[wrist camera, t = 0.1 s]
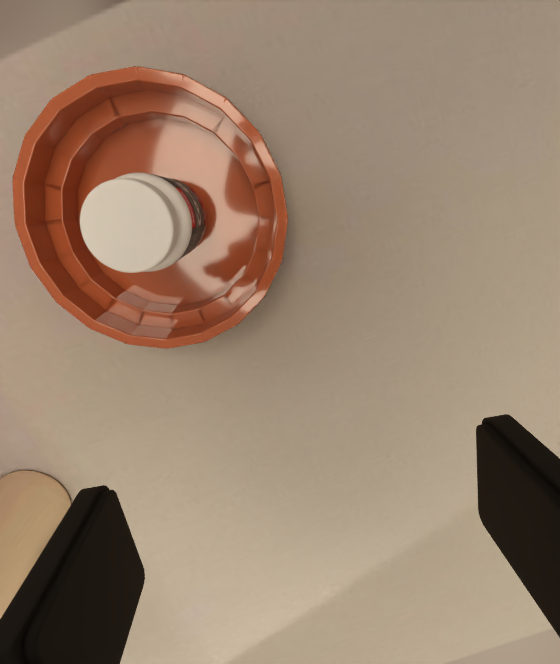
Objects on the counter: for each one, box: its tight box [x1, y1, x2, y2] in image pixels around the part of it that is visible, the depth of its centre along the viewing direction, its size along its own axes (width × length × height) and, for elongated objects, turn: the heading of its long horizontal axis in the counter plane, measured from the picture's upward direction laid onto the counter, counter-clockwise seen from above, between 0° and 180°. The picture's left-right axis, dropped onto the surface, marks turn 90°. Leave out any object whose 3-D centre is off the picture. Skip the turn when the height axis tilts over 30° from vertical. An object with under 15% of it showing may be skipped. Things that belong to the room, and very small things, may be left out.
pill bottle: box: [80, 173, 207, 273], centre depth 22 cm, size 5×5×8 cm
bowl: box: [13, 66, 288, 348], centre depth 24 cm, size 14×14×4 cm
